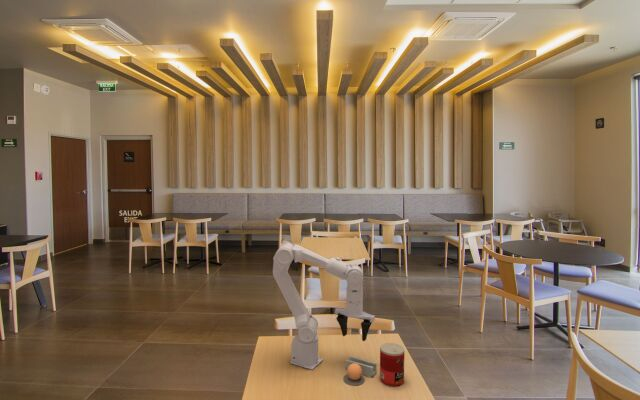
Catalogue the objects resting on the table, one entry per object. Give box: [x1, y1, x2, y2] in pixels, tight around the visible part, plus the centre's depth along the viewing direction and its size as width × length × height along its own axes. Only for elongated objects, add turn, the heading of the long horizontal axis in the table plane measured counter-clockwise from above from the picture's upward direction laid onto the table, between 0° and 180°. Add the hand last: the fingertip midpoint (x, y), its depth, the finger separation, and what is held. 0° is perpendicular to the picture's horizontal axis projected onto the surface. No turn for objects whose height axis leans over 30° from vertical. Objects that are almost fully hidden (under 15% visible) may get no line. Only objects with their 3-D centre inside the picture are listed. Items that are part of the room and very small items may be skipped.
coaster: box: [343, 374, 366, 387], centre depth 125 cm, size 7×7×1 cm
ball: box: [346, 363, 363, 380], centre depth 125 cm, size 5×5×5 cm
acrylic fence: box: [345, 355, 377, 378], centre depth 130 cm, size 10×3×4 cm, turn 60°
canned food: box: [379, 342, 405, 387], centre depth 125 cm, size 8×8×11 cm
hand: (354, 337), depth 134 cm, fingers open, 7 cm apart
